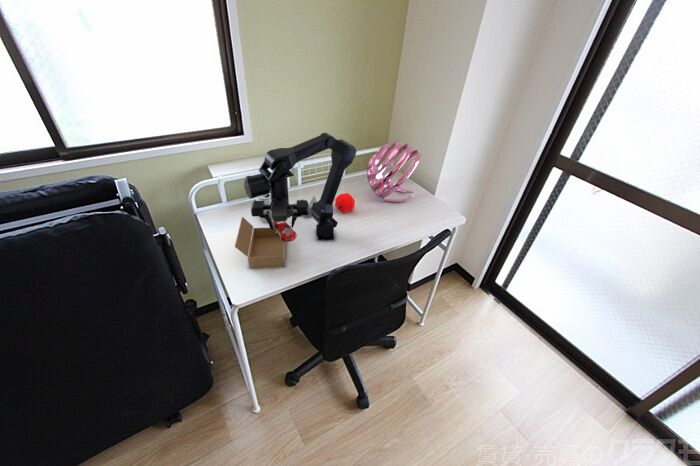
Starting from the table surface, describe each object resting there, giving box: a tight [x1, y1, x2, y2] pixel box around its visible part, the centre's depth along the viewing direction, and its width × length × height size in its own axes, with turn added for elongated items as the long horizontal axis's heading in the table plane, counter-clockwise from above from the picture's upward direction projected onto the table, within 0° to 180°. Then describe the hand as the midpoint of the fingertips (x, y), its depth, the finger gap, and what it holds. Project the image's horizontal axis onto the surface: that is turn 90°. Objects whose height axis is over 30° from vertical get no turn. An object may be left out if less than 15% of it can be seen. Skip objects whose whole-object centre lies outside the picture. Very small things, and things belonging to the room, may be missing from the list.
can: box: [255, 193, 272, 223], centre depth 127 cm, size 8×8×12 cm
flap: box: [234, 216, 254, 257], centre depth 109 cm, size 17×6×1 cm
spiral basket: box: [366, 141, 422, 203], centre depth 145 cm, size 28×28×27 cm
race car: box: [268, 220, 298, 243], centre depth 109 cm, size 13×5×4 cm, turn 40°
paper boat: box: [301, 195, 318, 218], centre depth 135 cm, size 12×6×9 cm
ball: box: [334, 192, 356, 214], centre depth 137 cm, size 8×8×8 cm
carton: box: [247, 226, 286, 269], centre depth 113 cm, size 17×12×5 cm
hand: (282, 227), depth 108 cm, fingers closed on race car, 7 cm apart
